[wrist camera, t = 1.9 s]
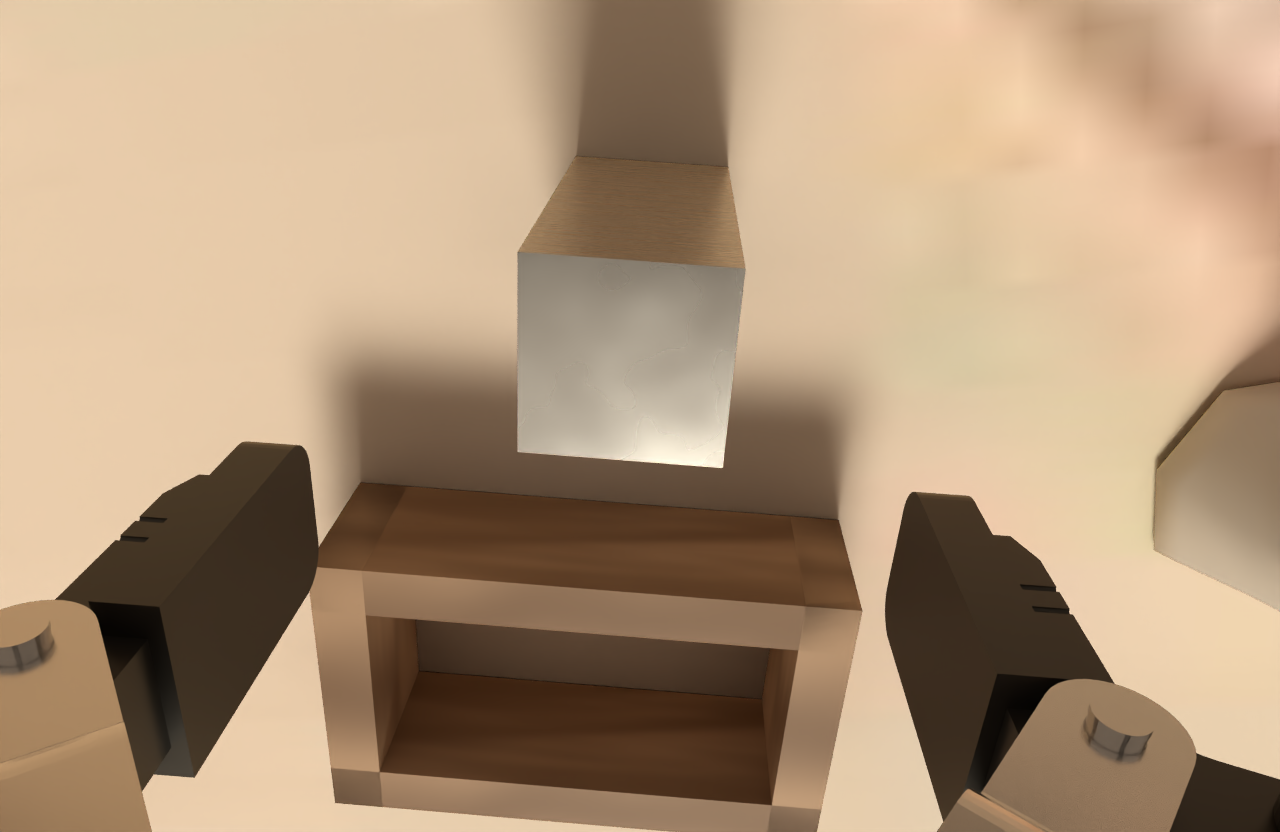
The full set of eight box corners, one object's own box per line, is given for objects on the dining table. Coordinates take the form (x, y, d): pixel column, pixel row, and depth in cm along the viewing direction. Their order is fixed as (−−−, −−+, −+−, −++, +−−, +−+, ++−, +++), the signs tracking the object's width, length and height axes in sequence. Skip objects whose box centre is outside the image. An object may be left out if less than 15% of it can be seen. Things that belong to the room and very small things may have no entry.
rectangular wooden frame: (360, 482, 29) (306, 566, 25) (838, 520, 29) (862, 611, 25) (379, 700, 33) (335, 802, 29) (799, 735, 33) (814, 843, 29)
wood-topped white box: (576, 156, 24) (517, 251, 16) (728, 167, 24) (745, 268, 16) (571, 300, 26) (517, 451, 18) (713, 311, 26) (723, 468, 18)
